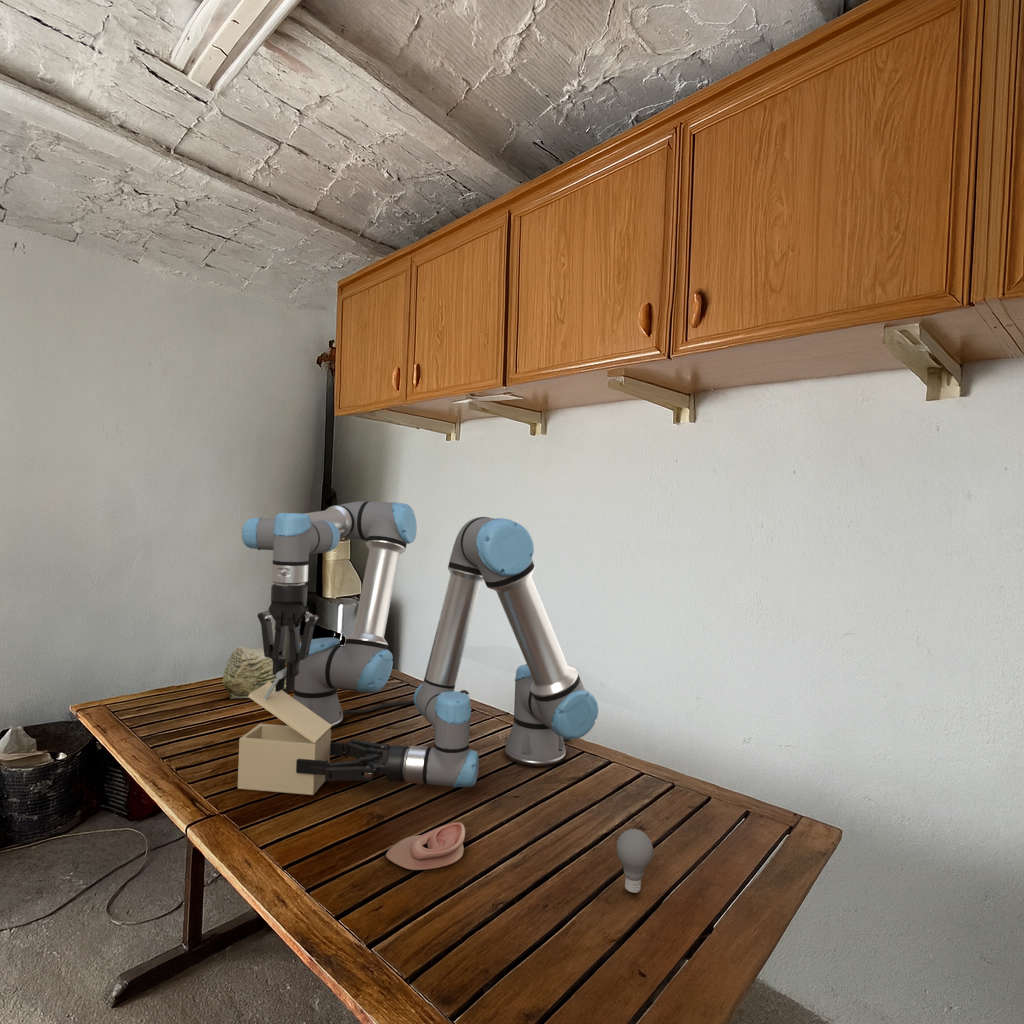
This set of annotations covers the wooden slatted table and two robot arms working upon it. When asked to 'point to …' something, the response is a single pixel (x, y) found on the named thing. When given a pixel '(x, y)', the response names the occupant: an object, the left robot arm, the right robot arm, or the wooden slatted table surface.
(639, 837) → the light bulb
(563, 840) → the wooden slatted table surface
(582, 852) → the wooden slatted table surface
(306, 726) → the lid
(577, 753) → the wooden slatted table surface
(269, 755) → the chest
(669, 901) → the wooden slatted table surface
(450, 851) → the anatomical model
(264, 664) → the fossil
